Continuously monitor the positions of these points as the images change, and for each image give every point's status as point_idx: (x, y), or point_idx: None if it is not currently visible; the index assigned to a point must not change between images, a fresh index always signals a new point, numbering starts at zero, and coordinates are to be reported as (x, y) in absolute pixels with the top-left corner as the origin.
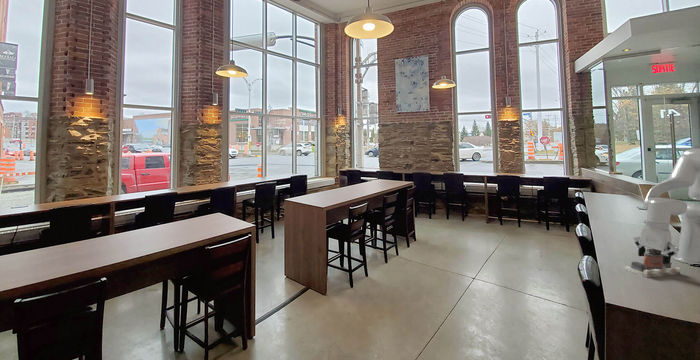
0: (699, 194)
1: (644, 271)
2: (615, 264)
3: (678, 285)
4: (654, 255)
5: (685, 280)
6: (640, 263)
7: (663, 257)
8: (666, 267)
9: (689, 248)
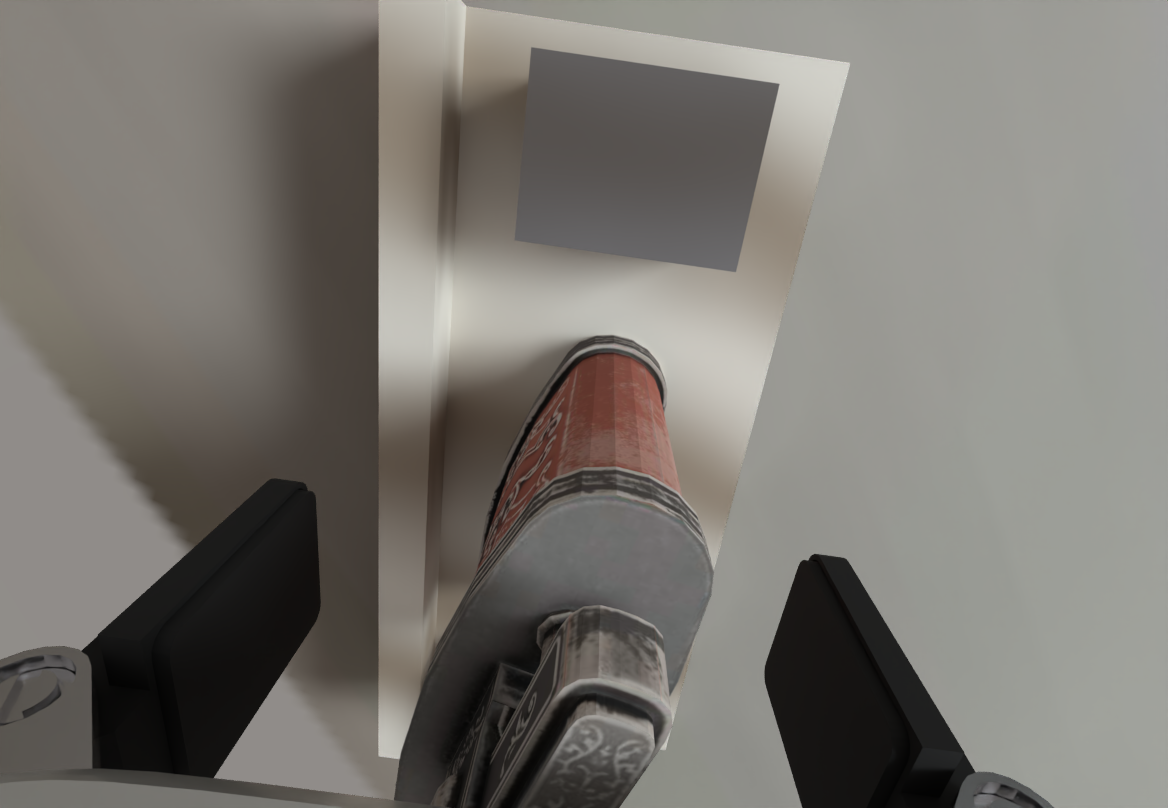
0: None
1: None
2: (1034, 207)
3: (83, 186)
4: (460, 614)
5: None
6: (625, 206)
7: (190, 590)
8: None
9: None
